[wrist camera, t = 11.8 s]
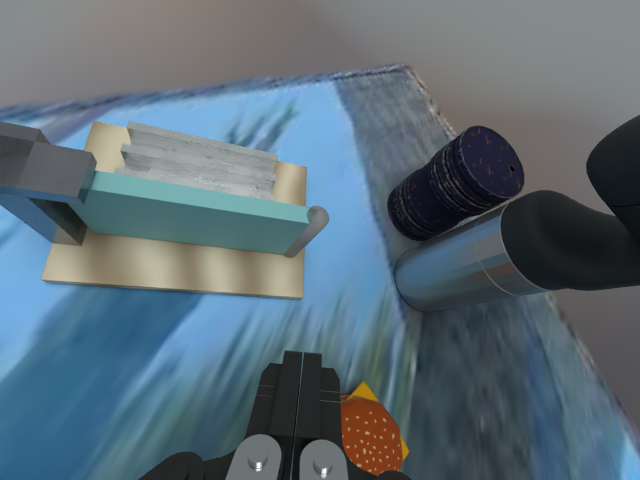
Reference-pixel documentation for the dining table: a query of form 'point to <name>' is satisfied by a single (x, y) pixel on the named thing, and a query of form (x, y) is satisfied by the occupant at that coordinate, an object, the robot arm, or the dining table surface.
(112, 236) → the mounting board
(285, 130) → the dining table surface
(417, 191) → the storage jar
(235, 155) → the cooler block
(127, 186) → the teal upright panel
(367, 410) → the hamburger
